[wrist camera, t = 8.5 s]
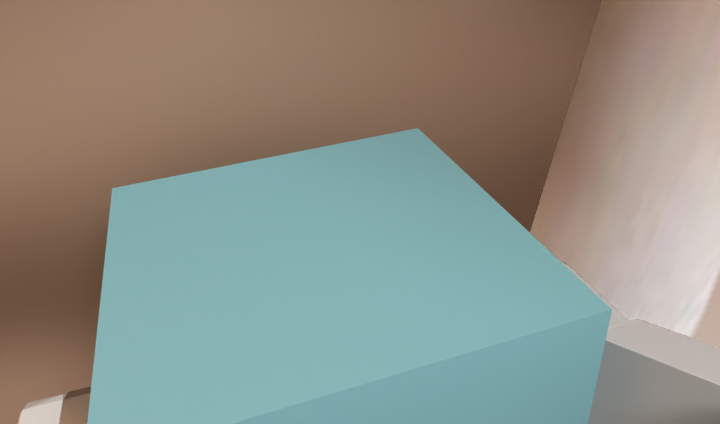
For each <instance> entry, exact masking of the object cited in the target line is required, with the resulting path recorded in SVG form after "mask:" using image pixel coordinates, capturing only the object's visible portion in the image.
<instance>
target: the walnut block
mask: <svg viewBox="0 0 720 424" xmlns="http://www.w3.org/2000/svg"><path fill="white" fill-rule="evenodd" d="M600 2H601V0H0V424H18V421H19V417H20V413H21V411H22V410H23V409H24V407H25V406H26V404H27V403H28V402H32V401H37V400H41V399H45V398H49V397H53V396H57V395H62V394H66V393H68V392H70V391H74V390H78V389H82V388H86V387H90V386H91V384H92V374H93V365H94V356H95V346H96V337H97V327H98V318H99V308H100V299H101V289H102V280H103V271H104V261H105V252H106V242H107V233H108V223H109V214H110V205H111V195H112V188H116V187H121V186H127V185H132V184H137V183H142V182H147V181H152V180H157V179H162V178H167V177H172V176H177V175H182V174H187V173H192V172H198V171H203V170H208V169H213V168H218V167H223V166H228V165H233V164H238V163H243V162H248V161H253V160H258V159H264V158H269V157H274V156H279V155H284V154H289V153H294V152H299V151H304V150H309V149H314V148H319V147H324V146H329V145H335V144H340V143H345V142H350V141H355V140H360V139H365V138H370V137H375V136H380V135H385V134H390V133H395V132H400V131H406V130H411V129H416V128H418V129H419V130H420V131H421V132H423V133H424V134H425V135H426V136H427V137H428V138H429V139H430V140H431V141H432V142H433V143H434V144H435V145H436V146H438V147H439V148H440V149H441V150H442V151H443V152H444V153H445V154H446V155H447V156H448V157H449V158H450V159H451V160H453V161H454V162H455V163H456V164H457V165H458V166H459V167H460V168H461V169H462V170H463V171H464V172H465V173H466V174H468V175H469V176H470V177H471V178H472V179H473V180H474V181H475V182H476V183H477V184H478V185H479V186H480V187H481V188H483V189H484V190H485V191H486V192H487V193H488V194H489V195H490V196H491V197H492V198H493V199H494V200H495V201H496V202H497V203H499V204H500V205H501V206H502V207H503V208H504V209H505V210H506V211H507V212H508V213H509V214H510V215H511V216H512V217H514V218H515V219H516V220H517V221H518V222H519V223H520V224H521V225H522V226H523V227H524V228H525V229H526V230H527V231H529V232H530V230H531V226H532V223H533V220H534V217H535V213H536V210H537V207H538V204H539V200H540V197H541V194H542V191H543V187H544V184H545V181H546V178H547V174H548V171H549V168H550V165H551V161H552V158H553V155H554V152H555V148H556V145H557V142H558V139H559V135H560V132H561V129H562V125H563V122H564V119H565V116H566V112H567V109H568V106H569V103H570V99H571V96H572V93H573V90H574V86H575V83H576V80H577V77H578V73H579V70H580V67H581V64H582V60H583V57H584V54H585V51H586V47H587V44H588V41H589V38H590V34H591V31H592V28H593V25H594V21H595V18H596V15H597V12H598V8H599V5H600Z"/></svg>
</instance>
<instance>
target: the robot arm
mask: <svg viewBox="0 0 720 424" xmlns="http://www.w3.org/2000/svg"><path fill="white" fill-rule="evenodd" d="M562 263H563V264H564V265H565V266H566V267H567V268H568V269H569V270H570V271H571V272H572V273H574V274H575V275H576V276H577V277H578V278H579V279H580V280H581V281H582V282H583V283H584V284H585V285H586V286H587V287H589V288H590V289H591V290H592V291H593V292H594V293H595V294H596V295H597V296H598V297H599V298H600V299H601V300H602V301H604V302H605V303H606V304H607V305H608V306H609V307H610V308H611V309H612V313H611V317H610V322H609V327H608V331H607V336H606V341H605V345H604V350H603V355H602V359H601V364H600V369H599V373H598V378H597V383H596V387H595V392H594V397H593V401H592V406H591V411H590V415H589V420H588V424H720V348H719V347H717V346H713V345H711V344H708V343H705V342H702V341H699V340H696V339H694V338H691V337H688V336H685V335H682V334H679V333H677V332H674V331H671V330H668V329H665V328H662V327H659V326H657V325H654V324H651V323H648V322H645V321H642V320H639V319H636V320H632V321H628V320H627V319H626V318H625V317H624V316H623V315H622V314H621V313H620V312H619V311H617V310H616V309H615V308H614V307H613V306H612V305H611V304H610V303H609V302H608V301H607V300H605V299H604V298H603V297H602V296H601V295H600V294H599V293H598V292H597V291H596V290H595V289H593V288H592V287H591V286H590V285H589V284H588V283H587V282H586V281H585V280H584V279H582V278H581V277H580V276H579V275H578V274H577V273H576V272H575V271H574V270H573V269H572V268H570V267H569V266H568V265H567V264H566V263H564V262H562ZM90 393H91V386H90V387H86V388H82V389H78V390H74V391H70V392H68V393H66V394H62V395H57V396H53V397H49V398H45V399H41V400H37V401H32V402H28V403H27V404H26V406H25V407H24V409H23V410H22V411H21V413H20V417H19V421H18V424H87V422H88V412H89V403H90Z"/></svg>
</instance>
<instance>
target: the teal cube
mask: <svg viewBox="0 0 720 424" xmlns="http://www.w3.org/2000/svg"><path fill="white" fill-rule="evenodd" d="M611 313H612V309H611V308H610V307H609V306H608V305H607V304H606V303H605V302H604V301H602V300H601V299H600V298H599V297H598V296H597V295H596V294H595V293H594V292H593V291H592V290H591V289H590V288H589V287H587V286H586V285H585V284H584V283H583V282H582V281H581V280H580V279H579V278H578V277H577V276H576V275H575V274H574V273H572V272H571V271H570V270H569V269H568V268H567V267H566V266H565V265H564V264H563V263H562V262H561V261H560V260H559V259H557V258H556V257H555V256H554V255H553V254H552V253H551V252H550V251H549V250H548V249H547V248H546V247H545V246H544V245H542V244H541V243H540V242H539V241H538V240H537V239H536V238H535V237H534V236H533V235H532V234H531V233H530V232H529V231H527V230H526V229H525V228H524V227H523V226H522V225H521V224H520V223H519V222H518V221H517V220H516V219H515V218H514V217H512V216H511V215H510V214H509V213H508V212H507V211H506V210H505V209H504V208H503V207H502V206H501V205H500V204H499V203H497V202H496V201H495V200H494V199H493V198H492V197H491V196H490V195H489V194H488V193H487V192H486V191H485V190H484V189H483V188H481V187H480V186H479V185H478V184H477V183H476V182H475V181H474V180H473V179H472V178H471V177H470V176H469V175H468V174H466V173H465V172H464V171H463V170H462V169H461V168H460V167H459V166H458V165H457V164H456V163H455V162H454V161H453V160H451V159H450V158H449V157H448V156H447V155H446V154H445V153H444V152H443V151H442V150H441V149H440V148H439V147H438V146H436V145H435V144H434V143H433V142H432V141H431V140H430V139H429V138H428V137H427V136H426V135H425V134H424V133H423V132H421V131H420V130H419V129H418V128H416V129H411V130H406V131H400V132H395V133H390V134H385V135H380V136H375V137H370V138H365V139H360V140H355V141H350V142H345V143H340V144H335V145H329V146H324V147H319V148H314V149H309V150H304V151H299V152H294V153H289V154H284V155H279V156H274V157H269V158H264V159H258V160H253V161H248V162H243V163H238V164H233V165H228V166H223V167H218V168H213V169H208V170H203V171H198V172H192V173H187V174H182V175H177V176H172V177H167V178H162V179H157V180H152V181H147V182H142V183H137V184H132V185H127V186H121V187H116V188H112V195H111V205H110V214H109V223H108V233H107V242H106V252H105V261H104V271H103V280H102V289H101V299H100V308H99V318H98V327H97V337H96V346H95V356H94V365H93V374H92V384H91V393H90V403H89V412H88V422H87V424H588V420H589V415H590V411H591V406H592V401H593V397H594V392H595V387H596V383H597V378H598V373H599V369H600V364H601V359H602V355H603V350H604V345H605V341H606V336H607V331H608V327H609V322H610V317H611Z"/></svg>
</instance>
